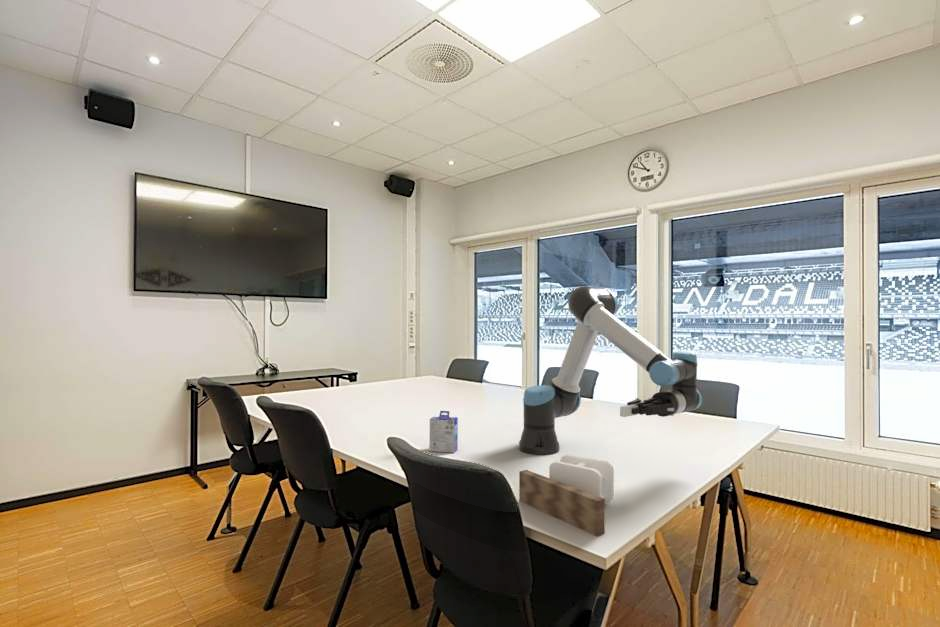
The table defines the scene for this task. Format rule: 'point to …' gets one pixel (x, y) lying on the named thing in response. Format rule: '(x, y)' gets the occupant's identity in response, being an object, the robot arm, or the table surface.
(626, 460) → the table surface
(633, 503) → the table surface
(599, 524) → the walnut board
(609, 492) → the tooth protector case
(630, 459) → the table surface
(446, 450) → the ink cartridge box
